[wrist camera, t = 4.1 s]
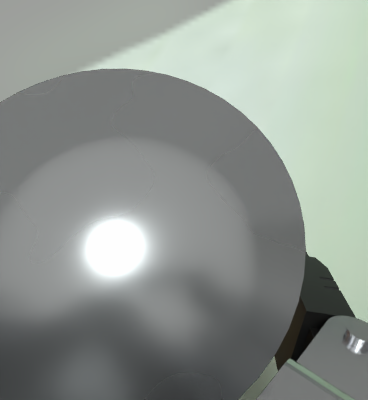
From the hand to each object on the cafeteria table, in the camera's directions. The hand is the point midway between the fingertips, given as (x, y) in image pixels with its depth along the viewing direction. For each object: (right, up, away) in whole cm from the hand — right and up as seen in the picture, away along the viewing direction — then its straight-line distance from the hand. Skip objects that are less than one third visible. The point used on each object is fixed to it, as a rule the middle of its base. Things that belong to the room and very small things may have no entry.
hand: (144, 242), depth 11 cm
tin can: (-1, -4, +6) cm, 7 cm away
